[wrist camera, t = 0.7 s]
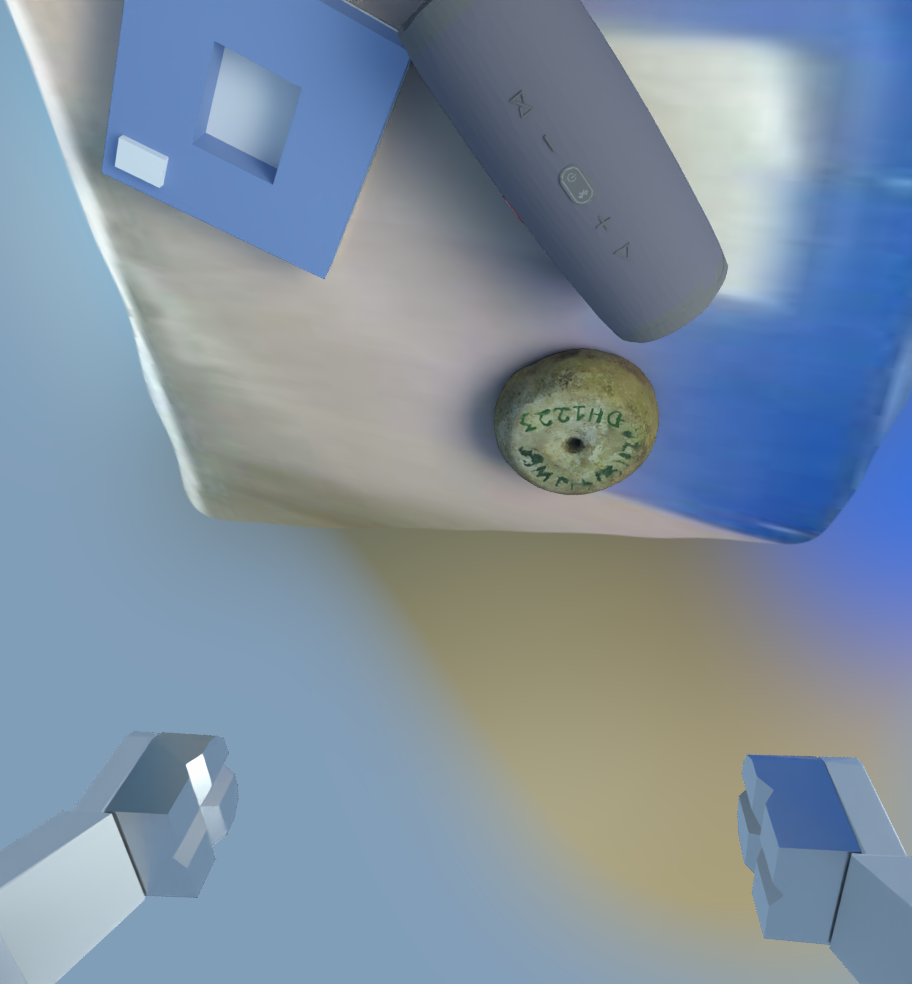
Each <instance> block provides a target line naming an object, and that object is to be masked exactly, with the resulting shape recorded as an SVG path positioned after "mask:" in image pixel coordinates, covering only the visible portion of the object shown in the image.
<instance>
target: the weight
mask: <svg viewBox="0 0 912 984" xmlns="http://www.w3.org/2000/svg"><path fill="white" fill-rule="evenodd" d="M658 426H659V411H658V404H657V401H656V396H655V393H654V390H653V387H652V385H651V383H650V381H649V380H648V378H647V377H646V376H645V375H644V373H643V372H642V371H641V370H640V369H639V368H638V367H637V366H636V365H634V364H633V363H631V362H630V361H628V360H626V359H624V358H622V357H620V356H617V355H613V354H608V353H605V352H600V351H597V350H591V349H577V350H571V351H566V352H562V353H558V354H555V355H551V356H549V357H546V358H544V359H542V360H540V361H538V362H537V363H535V364H534V365H532V366H528V367H525V368H523V369H521V370H520V371H518V372H517V373H515V374H514V375H513V376H512V377H511V378H510V380H509V381H508V382H507V384H506V385H505V387H504V389H503V391H502V393H501V395H500V397H499V399H498V401H497V404H496V408H495V414H494V427H495V435H496V440H497V444H498V448H499V450H500V452H501V454H502V456H503V457H504V459H505V460H506V462H507V463H508V464H509V465H510V466H511V467H512V468H513V469H514V470H515V471H516V472H517V473H518V474H519V475H520V476H521V477H522V478H524V479H525V480H527V481H528V482H530V483H531V484H533V485H535V486H537V487H539V488H541V489H544V490H547V491H550V492H554V493H559V494H565V495H582V494H588V493H593V492H597V491H600V490H603V489H606V488H608V487H611V486H613V485H614V484H617V483H619V482H621V481H622V480H624V479H625V478H627V477H628V476H630V475H631V474H632V473H633V472H635V471H636V470H637V469H638V468H639V467H640V466H641V465H642V463H643V462H644V461H645V460H646V458H647V457H648V456H649V454H650V452H651V449H652V447H653V445H654V443H655V439H656V435H657V431H658Z"/></svg>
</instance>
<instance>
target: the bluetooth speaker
mask: <svg viewBox="0 0 912 984" xmlns="http://www.w3.org/2000/svg"><path fill="white" fill-rule="evenodd" d="M398 37H399V39H400V41H401V43H402V44H403V46H404V48H405V50H406V51H407V53H408V55H409V57H410V59H411V61H412V62H413V64H414V66H415V67H416V69H417V71H418V72H419V74H420V75H421V77H422V79H423V80H424V82H425V84H426V85H427V86H428V88H429V89H430V91H431V92H432V94H433V95H434V97H435V98H436V100H437V101H438V103H439V104H440V106H441V107H442V108H443V110H444V111H445V113H446V114H447V116H448V117H449V119H450V120H451V122H452V123H453V125H454V126H455V127H456V129H457V130H458V132H459V133H460V135H461V136H462V138H463V139H464V141H465V142H466V144H467V145H468V147H469V148H470V149H471V151H472V152H473V154H474V155H475V157H476V158H477V159H478V161H479V162H480V164H481V165H482V166H483V168H484V169H485V171H486V172H487V173H488V175H489V176H490V178H491V179H492V180H493V182H494V183H495V185H496V186H497V187H498V189H499V190H500V192H501V193H502V194H503V197H504V198H505V201H506V203H507V204H508V205H509V207H510V208H511V209H512V211H513V212H514V213H515V215H516V216H518V217H519V219H520V220H521V221H522V222H523V223H524V224H525V225H526V226H527V228H528V229H529V230H530V232H531V233H532V234H533V236H534V237H535V238H536V240H537V241H538V242H539V244H540V245H541V246H542V247H543V249H544V250H545V251H546V252H547V254H548V255H549V256H550V258H551V259H552V260H553V261H554V263H555V264H556V265H557V266H558V268H559V269H560V270H561V271H562V273H563V274H564V275H565V276H566V278H567V279H568V280H569V281H570V283H571V284H572V285H573V286H574V288H575V289H576V290H577V291H578V292H579V294H580V295H581V296H582V297H583V298H584V300H585V301H586V302H587V303H588V305H589V306H590V307H591V308H592V309H593V311H594V312H595V313H596V314H597V315H598V317H599V318H600V319H601V320H602V321H603V322H604V323H605V324H606V325H607V326H608V327H609V328H610V329H611V330H612V331H613V332H614V333H615V334H616V335H617V336H618V337H620V338H621V339H622V340H625V341H629V342H638V343H644V342H650V341H654V340H657V339H659V338H662V337H664V336H667V335H669V334H671V333H673V332H675V331H676V330H678V329H680V328H682V327H683V326H685V325H686V324H688V323H689V322H690V321H692V320H693V319H694V318H696V317H697V316H698V315H699V314H701V313H702V312H703V311H704V310H705V309H706V308H707V307H708V306H709V304H710V303H711V302H712V300H713V299H714V297H715V296H716V294H717V292H718V291H719V289H720V287H721V286H722V284H723V282H724V280H725V278H726V274H727V269H728V265H727V262H726V259H725V257H724V254H723V252H722V249H721V247H720V244H719V242H718V240H717V238H716V235H715V233H714V231H713V229H712V227H711V225H710V223H709V221H708V219H707V217H706V215H705V213H704V211H703V210H702V208H701V206H700V204H699V202H698V200H697V198H696V196H695V194H694V192H693V191H692V189H691V187H690V185H689V183H688V181H687V179H686V177H685V175H684V174H683V172H682V170H681V168H680V166H679V164H678V162H677V161H676V159H675V157H674V155H673V153H672V152H671V150H670V148H669V146H668V144H667V143H666V141H665V139H664V137H663V135H662V134H661V132H660V130H659V128H658V126H657V125H656V123H655V121H654V119H653V117H652V116H651V114H650V112H649V111H648V109H647V107H646V106H645V104H644V102H643V100H642V99H641V97H640V95H639V94H638V92H637V90H636V89H635V87H634V85H633V84H632V82H631V80H630V79H629V77H628V75H627V74H626V72H625V70H624V69H623V67H622V65H621V63H620V62H619V60H618V59H617V57H616V55H615V54H614V52H613V51H612V49H611V47H610V46H609V44H608V43H607V41H606V39H605V38H604V36H603V35H602V33H601V31H600V30H599V28H598V27H597V25H596V24H595V22H594V21H593V20H592V18H591V17H590V15H589V13H588V12H587V10H586V9H585V7H584V6H583V4H582V3H581V1H580V0H426V1H425V2H424V3H423V4H422V5H421V6H420V7H419V8H418V9H417V11H416V12H415V13H414V14H413V15H412V16H411V17H410V18H409V19H408V20H407V21H406V22H405V23H404V24H403V26H402V27H401V28H400V29H399V30H398Z"/></svg>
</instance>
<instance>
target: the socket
mask: <svg viewBox="0 0 912 984" xmlns="http://www.w3.org/2000/svg"><path fill="white" fill-rule="evenodd" d="M410 63H411V59H410V57H409V55H408V53H407V51H406V50H405V48H404V46H403V44H402V43H401V41H400V39H399V37H398V30H397V29H395V28H393V27H391V26H390V25H388V24H386V23H385V22H383V21H381V20H379V19H378V18H376V17H374V16H372V15H371V14H369V13H367V12H365V11H364V10H362V9H360V8H358V7H357V6H355V5H353V4H351V3H350V2H348V1H346V0H124V8H123V15H122V23H121V30H120V38H119V45H118V53H117V60H116V68H115V75H114V83H113V90H112V98H111V105H110V112H109V120H108V127H107V135H106V142H105V150H104V157H103V165H102V172H101V173H103V174H105V175H108V176H110V177H112V178H114V179H116V180H118V181H120V182H122V183H124V184H126V185H128V186H131V187H133V188H135V189H137V190H139V191H141V192H143V193H145V194H147V195H149V196H151V197H153V198H156V199H158V200H160V201H162V202H164V203H166V204H168V205H170V206H172V207H174V208H176V209H179V210H181V211H183V212H185V213H187V214H189V215H191V216H193V217H195V218H197V219H199V220H201V221H204V222H206V223H208V224H210V225H212V226H214V227H216V228H218V229H220V230H222V231H224V232H227V233H229V234H231V235H233V236H235V237H237V238H239V239H241V240H243V241H245V242H247V243H250V244H252V245H254V246H256V247H258V248H260V249H262V250H264V251H266V252H268V253H270V254H272V255H275V256H277V257H279V258H281V259H283V260H285V261H287V262H289V263H291V264H293V265H295V266H298V267H300V268H302V269H304V270H306V271H308V272H310V273H312V274H314V275H316V276H318V277H321V278H323V279H325V277H326V275H327V273H328V271H329V269H330V267H331V265H332V263H333V261H334V259H335V256H336V253H337V251H338V248H339V246H340V243H341V241H342V238H343V235H344V233H345V230H346V228H347V225H348V223H349V220H350V217H351V215H352V212H353V210H354V207H355V205H356V202H357V199H358V197H359V194H360V192H361V189H362V187H363V184H364V181H365V179H366V176H367V174H368V171H369V168H370V166H371V163H372V161H373V158H374V156H375V153H376V150H377V148H378V145H379V143H380V140H381V138H382V135H383V132H384V130H385V127H386V125H387V122H388V120H389V117H390V114H391V112H392V109H393V107H394V104H395V101H396V99H397V96H398V94H399V91H400V89H401V86H402V83H403V81H404V78H405V76H406V73H407V71H408V68H409V65H410Z"/></svg>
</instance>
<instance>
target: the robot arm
mask: <svg viewBox="0 0 912 984" xmlns="http://www.w3.org/2000/svg"><path fill="white" fill-rule="evenodd" d="M228 754H229V752H228V749H227V746H226V743H225V740H224V738H222V737H219V736H211V735H196V734H180V733H164V732H162V733H154V732H139V731H134V732H132V733H130V734H129V735H127V736H125V738H124V739H123V740H122V742H121V743H120V744H119V746H118V747H117V748H116V750H115V751H114V753H113V754H112V755H111V757H110V758H109V760H108V761H107V762H106V764H105V765H104V766H103V768H102V769H101V771H100V772H99V773H98V775H97V776H96V778H95V779H94V780H93V782H92V783H91V785H90V786H89V787H88V789H87V790H86V791H85V793H84V794H83V796H82V797H81V798H80V800H79V801H78V802H77V804H76V805H75V807H74V808H73V810H72V811H61V812H60V813H58V814H57V815H55V816H54V817H52V818H50V819H49V820H47V821H46V822H44V823H43V824H41V825H39V826H38V827H36V828H35V829H33V830H32V831H30V832H29V833H27V834H25V835H24V836H22V837H21V838H19V839H18V840H16V841H14V842H13V843H11V844H10V845H8V846H7V847H5V848H3V849H2V850H0V984H55V983H56V982H57V981H58V980H59V979H60V978H61V977H62V976H63V975H64V974H66V973H67V972H68V971H69V970H70V969H71V968H72V967H73V966H74V965H75V964H76V963H77V962H78V961H80V959H82V958H83V957H84V956H85V955H86V954H87V953H88V952H89V951H90V950H91V949H92V948H93V947H94V946H95V945H97V944H98V943H99V942H100V941H101V940H102V939H103V938H104V937H105V936H106V935H107V934H108V933H109V932H111V931H112V930H113V929H114V928H115V927H116V926H117V925H118V924H119V923H120V922H121V921H122V920H123V919H125V918H126V916H128V915H129V914H130V913H131V912H132V911H133V910H134V909H135V908H136V907H137V906H138V905H140V903H142V902H143V901H144V900H145V896H166V897H191V898H192V897H193V898H197V897H198V895H199V893H200V890H201V889H202V886H203V884H204V882H205V880H206V878H207V876H208V874H209V872H210V870H211V868H212V866H213V863H214V861H215V855H214V851H213V847H212V846H213V845H214V844H215V843H217V842H218V841H219V840H220V839H222V838H223V837H224V836H226V835H227V833H228V831H229V829H230V827H231V825H232V822H233V820H234V817H235V813H236V808H237V803H238V784H237V780H236V776H235V773H234V772H233V771H231V770H230V769H229V768H228V767H227V766H226V765H225V764H224V762H225V760H226V758H227V756H228ZM742 776H743V780H744V784H745V787H746V790H745V791H744V792H743V793H742V794H741V795H740V796H739V802H738V833H739V839H740V845H741V850H742V855H743V859H744V863H745V864H746V866H747V867H748V868H750V870H751V871H752V872H753V873H754V874H755V876H754V883H753V890H752V895H753V898H754V902H755V906H756V910H757V914H758V917H759V921H760V925H761V929H762V933H763V936H764V938H766V939H776V940H787V941H796V942H807V943H816V944H827V945H830V949H831V950H832V952H834V954H835V955H836V956H837V958H839V960H840V961H841V962H842V963H843V965H844V966H845V967H846V968H847V969H848V970H849V972H850V973H851V974H852V975H853V976H854V977H855V979H856V980H857V981H858V982H859V983H860V984H912V857H909V856H907V854H906V852H905V850H904V848H903V846H902V844H901V842H900V840H899V838H898V836H897V834H896V832H895V830H894V828H893V826H892V824H891V822H890V819H889V818H888V815H887V813H886V811H885V809H884V807H883V805H882V803H881V801H880V799H879V797H878V795H877V793H876V791H875V789H874V787H873V785H872V783H871V781H870V778H869V777H868V774H867V772H866V770H865V768H864V766H863V764H862V763H861V762H860V761H859V760H858V759H857V758H850V757H818V758H817V757H814V756H777V755H776V756H775V755H746V757H745V759H744V762H743V770H742Z"/></svg>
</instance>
